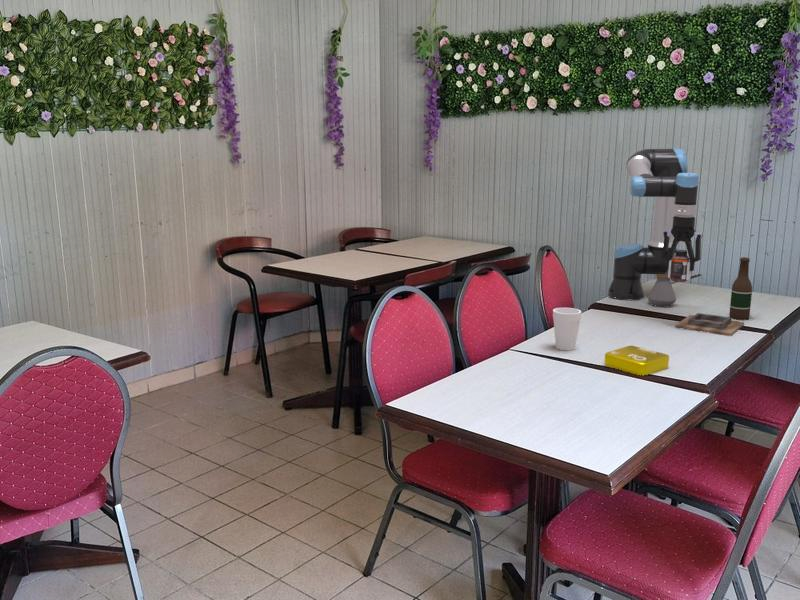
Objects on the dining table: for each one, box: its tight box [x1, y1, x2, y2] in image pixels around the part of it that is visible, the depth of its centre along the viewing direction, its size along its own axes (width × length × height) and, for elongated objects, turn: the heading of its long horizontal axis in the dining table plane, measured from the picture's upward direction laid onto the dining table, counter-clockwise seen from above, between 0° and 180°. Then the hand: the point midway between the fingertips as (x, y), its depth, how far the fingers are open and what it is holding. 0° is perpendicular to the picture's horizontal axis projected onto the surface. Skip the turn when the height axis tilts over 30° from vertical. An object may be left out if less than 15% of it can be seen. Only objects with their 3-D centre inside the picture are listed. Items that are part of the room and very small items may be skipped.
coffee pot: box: [647, 273, 704, 307], centre depth 314 cm, size 21×12×15 cm, turn 54°
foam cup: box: [552, 307, 582, 351], centre depth 254 cm, size 10×9×13 cm
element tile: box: [604, 345, 670, 377], centre depth 236 cm, size 15×15×5 cm
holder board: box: [674, 312, 745, 337], centre depth 283 cm, size 20×20×3 cm
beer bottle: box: [728, 257, 753, 321], centre depth 293 cm, size 8×8×24 cm
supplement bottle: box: [670, 249, 690, 283], centre depth 277 cm, size 6×6×11 cm
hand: (679, 278), depth 278 cm, fingers closed on supplement bottle, 6 cm apart
